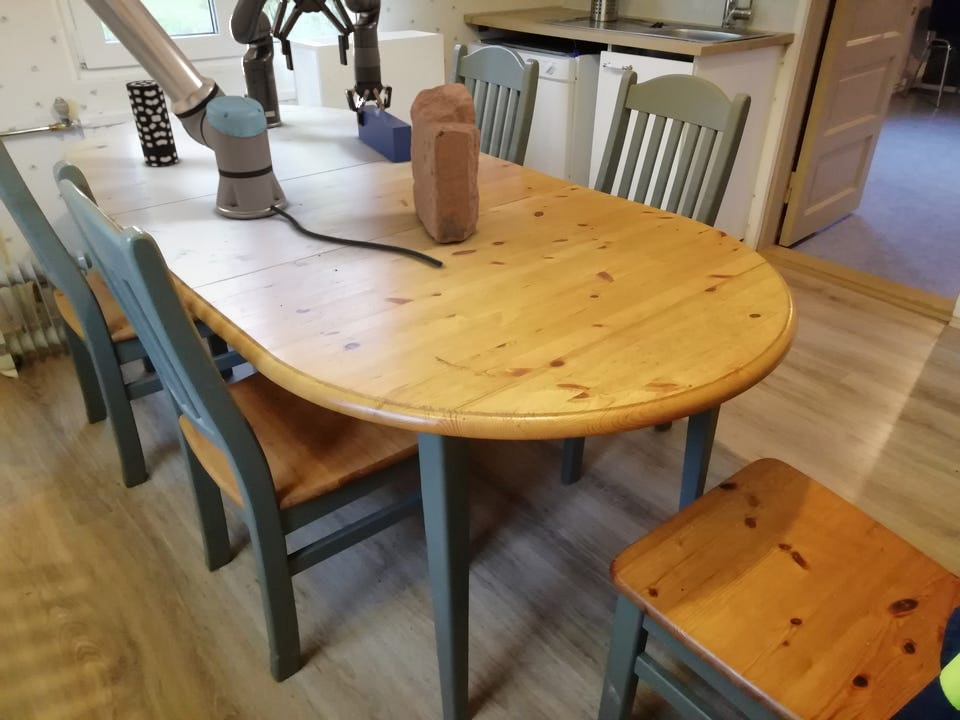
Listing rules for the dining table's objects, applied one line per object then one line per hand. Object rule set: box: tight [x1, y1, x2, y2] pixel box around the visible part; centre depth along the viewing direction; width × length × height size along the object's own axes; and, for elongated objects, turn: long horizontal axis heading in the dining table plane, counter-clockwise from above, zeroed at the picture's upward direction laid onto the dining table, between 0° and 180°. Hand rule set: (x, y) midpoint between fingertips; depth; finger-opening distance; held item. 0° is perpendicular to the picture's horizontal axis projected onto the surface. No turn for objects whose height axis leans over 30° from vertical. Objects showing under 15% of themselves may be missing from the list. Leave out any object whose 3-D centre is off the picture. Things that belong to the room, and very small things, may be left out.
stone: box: [409, 82, 482, 244], centre depth 143 cm, size 22×11×28 cm, turn 18°
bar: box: [357, 104, 412, 163], centre depth 197 cm, size 28×5×9 cm, turn 29°
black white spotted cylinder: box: [125, 79, 179, 167], centre depth 181 cm, size 8×8×20 cm
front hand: (317, 67), depth 168 cm, fingers open, 13 cm apart
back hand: (371, 124), depth 204 cm, fingers closed on bar, 5 cm apart
